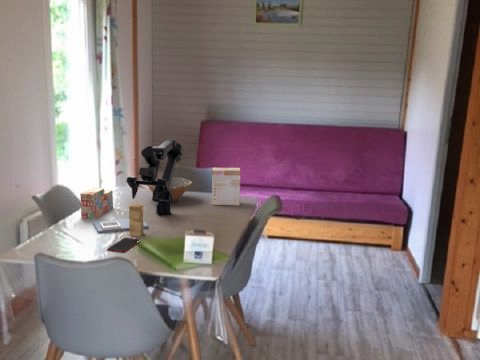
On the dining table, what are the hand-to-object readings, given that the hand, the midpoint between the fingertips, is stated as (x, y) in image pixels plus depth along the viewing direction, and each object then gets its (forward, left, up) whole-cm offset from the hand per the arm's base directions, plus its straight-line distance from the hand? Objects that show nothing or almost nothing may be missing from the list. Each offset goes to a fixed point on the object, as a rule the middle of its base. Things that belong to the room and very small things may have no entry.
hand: (142, 199), depth 213 cm
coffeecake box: (-53, -27, -14) cm, 61 cm away
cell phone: (+12, +19, -14) cm, 26 cm away
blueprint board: (+8, -7, -14) cm, 18 cm away
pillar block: (+4, +6, -14) cm, 16 cm away
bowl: (-27, -46, -14) cm, 55 cm away
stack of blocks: (+14, -33, -14) cm, 38 cm away
